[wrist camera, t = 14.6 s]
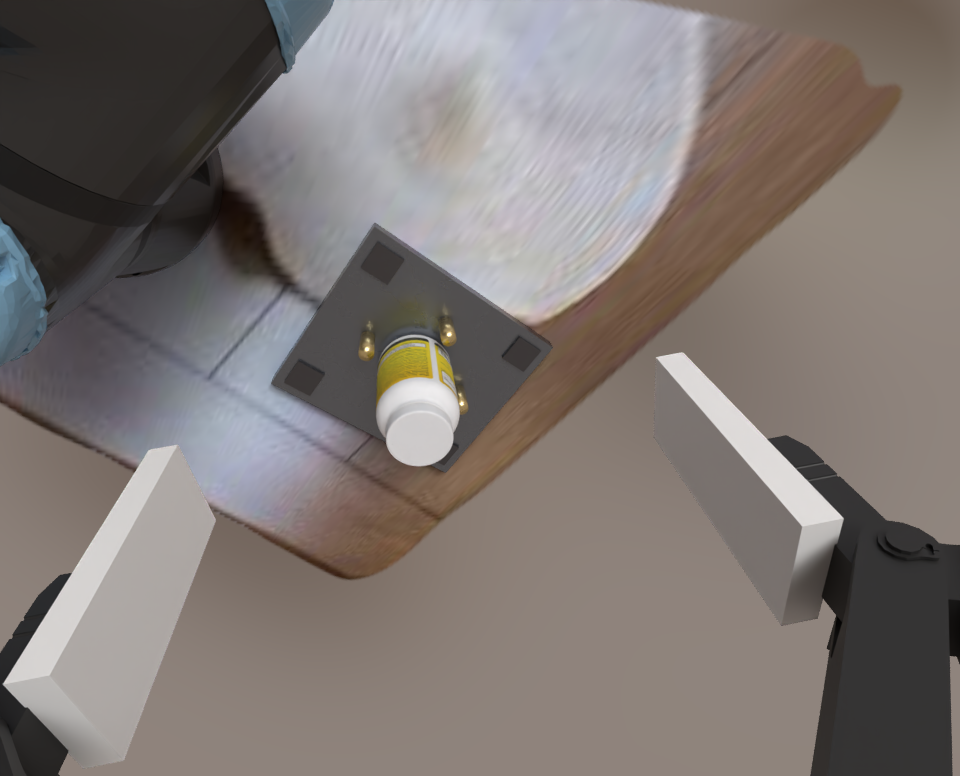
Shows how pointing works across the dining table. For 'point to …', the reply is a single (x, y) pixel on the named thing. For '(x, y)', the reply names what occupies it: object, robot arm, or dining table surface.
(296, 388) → the plate
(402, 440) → the pill bottle
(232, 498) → the dining table surface
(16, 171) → the robot arm
